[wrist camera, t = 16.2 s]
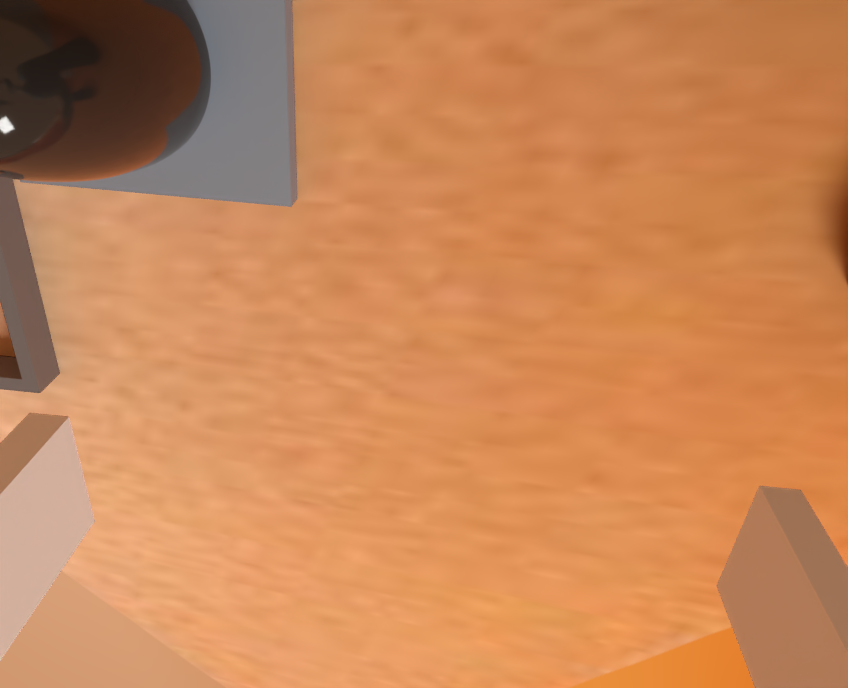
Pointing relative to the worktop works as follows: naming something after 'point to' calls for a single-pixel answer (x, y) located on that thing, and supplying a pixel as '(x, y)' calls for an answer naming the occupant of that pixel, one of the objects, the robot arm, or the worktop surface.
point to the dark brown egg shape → (98, 86)
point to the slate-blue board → (233, 114)
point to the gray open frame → (22, 305)
